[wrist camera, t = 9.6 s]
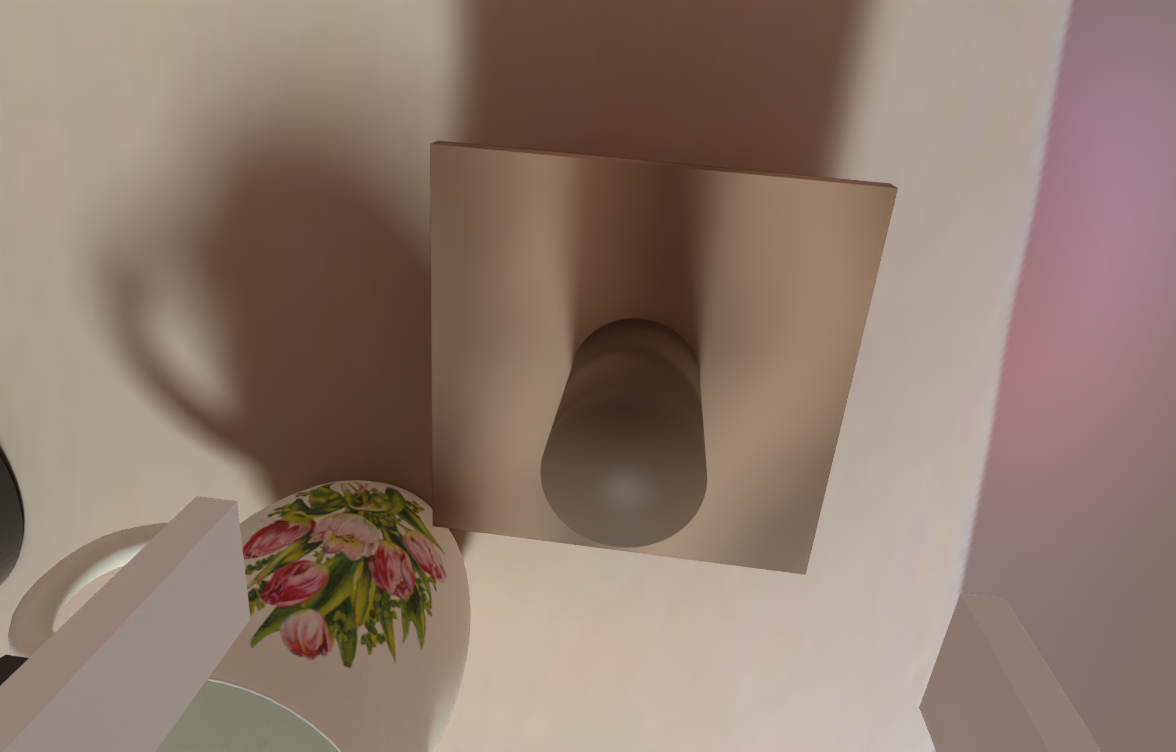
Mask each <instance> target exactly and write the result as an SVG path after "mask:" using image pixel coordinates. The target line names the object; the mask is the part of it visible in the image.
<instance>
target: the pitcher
mask: <svg viewBox="0 0 1176 752" xmlns="http://www.w3.org/2000/svg"><path fill="white" fill-rule="evenodd" d="M167 524H168V523H160V524H152V525H145V526H139V527H135V528H130V529H125V530H121V531H118V532H115V533H112V534H109V535H106V536H103V537H101V538H99V539H97V540H95V541H93V542H91V543H89V544H86V545H84V546H82V547H81V548H79V549H78V550H76V551H75V552H73V553H72V554H70V555H69V556H67V557H66V558H64V559H63V560H61V561H60V562H59V563H57V564H56V565H55V566H54V567H53V568H52V569H50V570H49V571H48V572H47V573H46V574H45V575H43V576H42V577H41V578H40V579H39V580H38V581H37V582H36V583H35V584H34V585H33V586H32V587H31V589H30V590H29V591H28V592H27V593H26V594H25V595H24V597H23V598H22V600H21V601H20V603H19V605H18V606H17V608H16V610H15V612H14V613H13V616H12V620H11V624H10V628H9V634H8V641H9V649H10V655H12V656H19V657H26V658H30V657H31V656H32V655H33V654H34V653H35V652H36V651H37V650H38V649H39V648H40V647H41V646H42V645H43V644H44V643H45V642H46V641H47V640H48V639H49V638H50V637H51V636H52V635H54V634H55V633H54V632H53V630H52V628H53V624H54V622H55V620H56V618H57V616H58V613H59V612H60V611H61V609H62V608H63V607H64V605H65V604H66V603H67V601H68V600H69V599H70V598H71V597H72V596H74V595H75V594H76V593H77V592H78V591H79V590H80V589H81V588H82V587H84V586H85V585H87V584H88V583H89V582H91V581H92V580H94V579H95V578H97V577H99V576H101V575H103V574H105V573H107V572H109V571H110V570H112V569H115V568H118V567H121V566H124V565H126V564H127V563H128V562H129V561H130V560H131V559H132V558H133V557H134V556H135V555H136V554H137V553H138V552H139V551H140V550H141V549H143V548H144V547H145V546H146V545H147V544H148V543H149V542H150V541H151V540H152V539H153V538H154V537H155V536H156V535H157V534H158V533H159V532H160V531H161V530H162V529H163V528H164V527H165V526H166V525H167ZM240 532H241V541H242V549H243V558H244V566H245V575H246V584H247V592H248V601H249V610H250V618H251V619H250V620H249V622H248V623H247V624H246V626H245V627H244V629H243V630H242V631H241V633H240V634H239V636H238V637H237V638H236V640H235V641H234V643H233V644H232V645H231V647H230V648H229V650H228V651H227V652H226V654H225V655H224V657H223V658H222V659H221V661H220V662H219V663H218V665H217V666H216V668H215V669H214V670H213V672H212V673H211V675H210V676H209V677H208V679H207V680H206V682H205V683H204V684H203V686H202V687H201V689H200V690H199V691H198V693H197V694H196V696H195V697H194V698H193V700H192V701H191V703H190V704H189V705H188V707H187V708H186V710H185V711H184V712H183V714H182V715H181V716H180V718H179V719H178V721H177V722H176V723H175V725H174V726H173V728H172V729H171V730H170V732H169V733H168V735H167V736H166V737H165V739H164V740H163V742H162V743H161V744H160V746H159V747H158V749H157V750H156V751H155V752H434V751H435V749H436V747H437V745H438V743H439V741H440V739H441V737H442V734H443V732H444V730H445V728H446V726H447V723H448V721H449V718H450V716H451V713H452V710H453V708H454V704H455V701H456V698H457V695H458V692H459V688H460V684H461V680H462V676H463V672H464V667H465V663H466V659H467V652H468V645H469V635H470V612H471V610H470V597H469V586H468V579H467V574H466V569H465V565H464V561H463V558H462V555H461V553H460V550H459V548H458V545H457V543H456V540H455V539H454V537H453V535H452V533H451V532H450V530H449V529H448V528H442V527H434V526H433V514H432V507H431V506H429V505H428V504H427V503H426V502H425V501H424V500H422V499H421V498H419V497H418V496H416V495H415V494H413V493H411V492H409V491H407V490H405V489H403V488H400V487H398V486H394V485H391V484H387V483H381V482H371V481H364V480H346V481H337V482H331V483H326V484H321V485H317V486H314V487H312V488H309V489H306V490H303V491H300V492H297V493H294V494H292V495H290V496H288V497H285V498H283V499H281V500H279V501H277V502H275V503H273V504H271V505H269V506H267V507H266V508H264V509H262V510H261V511H259V512H257V513H255V514H254V515H252V516H250V517H249V518H248V519H246V520H245V521H244V522H242V523H241V524H240Z"/></svg>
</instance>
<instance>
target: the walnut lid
mask: <svg viewBox="0 0 1176 752" xmlns="http://www.w3.org/2000/svg"><path fill="white" fill-rule="evenodd" d="M430 187H431V350H432V514H433V526H434V527H442V528H450V529H458V530H465V531H473V532H481V533H489V534H496V535H504V536H512V537H519V538H527V539H535V540H543V541H550V542H558V543H566V544H574V545H581V546H589V547H597V548H605V549H612V550H620V551H628V552H635V553H643V554H651V555H659V556H666V557H674V558H682V559H690V560H697V561H705V562H713V563H720V564H728V565H736V566H744V567H751V568H759V569H767V570H775V571H782V572H790V573H798V574H806V570H807V566H808V562H809V558H810V554H811V549H812V545H813V541H814V537H815V533H816V528H817V524H818V520H819V516H820V512H821V508H822V503H823V499H824V495H825V491H826V487H827V482H828V478H829V474H830V470H831V466H832V461H833V457H834V453H835V449H836V445H837V441H838V436H839V432H840V428H841V424H842V420H843V415H844V411H845V407H846V403H847V399H848V394H849V390H850V386H851V382H852V378H853V374H854V369H855V365H856V361H857V357H858V353H859V348H860V344H861V340H862V336H863V332H864V327H865V323H866V319H867V315H868V311H869V307H870V302H871V298H872V294H873V290H874V286H875V281H876V277H877V273H878V269H879V265H880V260H881V256H882V252H883V248H884V244H885V240H886V235H887V231H888V227H889V223H890V219H891V214H892V210H893V206H894V202H895V198H896V193H897V189H898V188H897V187H895V186H893V185H892V184H889V183H879V182H868V181H858V180H847V179H837V178H826V177H815V176H805V175H794V174H784V173H773V172H763V171H752V170H741V169H731V168H720V167H710V166H699V165H689V164H678V163H667V162H657V161H646V160H636V159H625V158H615V157H604V156H593V155H583V154H572V153H562V152H551V151H541V150H530V149H519V148H509V147H498V146H488V145H477V144H467V143H456V142H445V141H437V142H434V143H431V144H430Z"/></svg>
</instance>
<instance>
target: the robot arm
mask: <svg viewBox="0 0 1176 752" xmlns="http://www.w3.org/2000/svg"><path fill="white" fill-rule="evenodd" d="M22 537H23V521H22V513H21V507H20V503H19V499H18V495H17V492H16V489H15V486H14V483H13V481H12V478H11V476H10V474H9V472H8V469H7V468H6V466H5V464H4V462H3V460H2V458H1V456H0V585H1V584H2V583H3V582H4V581H5V579H6V578H7V577H8V576H9V574H10V573H11V571H12V570H13V568H14V566H15V564H16V562H17V559H18V557H19V554H20V550H21V545H22ZM250 619H251V618H250V610H249V601H248V592H247V584H246V575H245V566H244V558H243V549H242V541H241V532H240V523H239V515H238V506H237V501H230V500H222V499H214V498H206V497H198V496H196V497H195V498H194V499H193V500H192V501H191V502H190V503H189V504H188V505H187V506H186V507H185V508H184V509H183V510H182V511H181V512H180V513H179V514H178V515H177V516H176V517H175V518H174V519H173V520H171V521H170V522H169V523H168V524H167V525H166V526H165V527H164V528H163V529H162V530H161V531H160V532H159V533H158V534H157V535H156V536H155V537H154V538H153V539H152V540H151V541H150V542H149V543H148V544H147V545H146V546H145V547H144V548H143V549H141V550H140V551H139V552H138V553H137V554H136V555H135V556H134V557H133V558H132V559H131V560H130V561H129V562H128V563H127V564H126V565H125V566H124V567H123V568H122V569H121V570H120V571H119V572H118V573H117V574H116V575H115V576H114V577H113V578H111V579H110V580H109V581H108V582H107V583H106V584H105V585H104V586H103V587H102V588H101V589H100V590H99V591H98V592H97V593H96V594H95V595H94V596H93V597H92V598H91V599H90V600H89V601H88V602H87V603H86V604H85V605H84V606H83V607H81V608H80V609H79V610H78V611H77V612H76V613H75V614H74V615H73V616H72V617H71V618H70V619H69V620H68V621H67V622H66V623H65V624H64V625H63V626H62V627H61V628H60V629H59V630H58V631H57V632H56V633H55V634H54V635H52V636H51V637H50V638H49V639H48V640H47V641H46V642H45V643H44V644H43V645H42V646H41V647H40V648H39V649H38V650H37V651H36V652H35V653H34V654H33V655H32V656H31V657H30V658H26V657H19V656H12V655H5V656H3V657H1V658H0V752H155V751H156V750H157V749H158V747H159V746H160V744H161V743H162V742H163V740H164V739H165V737H166V736H167V735H168V733H169V732H170V730H171V729H172V728H173V726H174V725H175V723H176V722H177V721H178V719H179V718H180V716H181V715H182V714H183V712H184V711H185V710H186V708H187V707H188V705H189V704H190V703H191V701H192V700H193V698H194V697H195V696H196V694H197V693H198V691H199V690H200V689H201V687H202V686H203V684H204V683H205V682H206V680H207V679H208V677H209V676H210V675H211V673H212V672H213V670H214V669H215V668H216V666H217V665H218V663H219V662H220V661H221V659H222V658H223V657H224V655H225V654H226V652H227V651H228V650H229V648H230V647H231V645H232V644H233V643H234V641H235V640H236V638H237V637H238V636H239V634H240V633H241V631H242V630H243V629H244V627H245V626H246V624H247V623H248V622H249V620H250ZM919 708H920V711H921V713H922V716H923V718H924V721H925V723H926V726H927V728H928V731H929V733H930V736H931V738H932V741H933V744H934V746H935V749H936V751H937V752H1102V751H1101V750H1100V748H1099V747H1098V745H1097V743H1096V742H1095V740H1094V739H1093V737H1092V736H1091V734H1090V732H1089V731H1088V729H1087V728H1086V726H1085V724H1084V723H1083V721H1082V720H1081V718H1080V717H1079V715H1078V713H1077V712H1076V710H1075V709H1074V707H1073V705H1072V704H1071V702H1070V701H1069V699H1068V698H1067V696H1066V694H1065V693H1064V691H1063V690H1062V688H1061V686H1060V685H1059V683H1058V682H1057V680H1056V678H1055V677H1054V676H1053V674H1052V672H1051V671H1050V669H1049V667H1048V666H1047V664H1046V663H1045V661H1044V660H1043V658H1042V656H1041V655H1040V653H1039V652H1038V650H1037V648H1036V647H1035V645H1034V644H1033V642H1032V641H1031V639H1030V637H1029V636H1028V635H1027V633H1026V631H1025V629H1024V628H1023V626H1022V625H1021V623H1020V622H1019V620H1018V618H1017V617H1016V615H1015V614H1014V612H1013V610H1012V609H1011V607H1010V606H1009V604H1008V603H1007V601H1006V599H1005V598H997V597H989V596H981V595H974V594H966V593H961V594H960V596H959V599H958V602H957V605H956V607H955V610H954V613H953V616H952V619H951V621H950V624H949V627H948V630H947V632H946V635H945V638H944V641H943V643H942V646H941V649H940V652H939V655H938V657H937V660H936V663H935V666H934V668H933V671H932V674H931V677H930V679H929V682H928V685H927V688H926V691H925V693H924V696H923V699H922V702H921V704H920V707H919Z"/></svg>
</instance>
